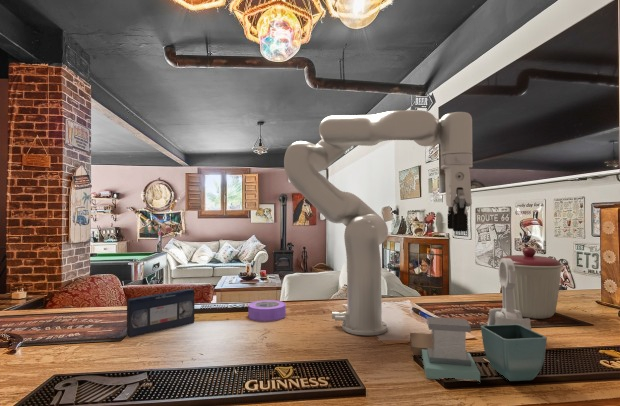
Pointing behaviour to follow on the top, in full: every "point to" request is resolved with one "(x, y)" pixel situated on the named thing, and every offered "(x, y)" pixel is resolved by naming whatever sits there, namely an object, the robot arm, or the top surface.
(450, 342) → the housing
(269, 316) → the masking tape
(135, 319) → the vhs cassette tape
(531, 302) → the canister
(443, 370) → the stand
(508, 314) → the engine component
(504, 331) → the flower pot
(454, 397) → the top surface
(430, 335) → the stand
